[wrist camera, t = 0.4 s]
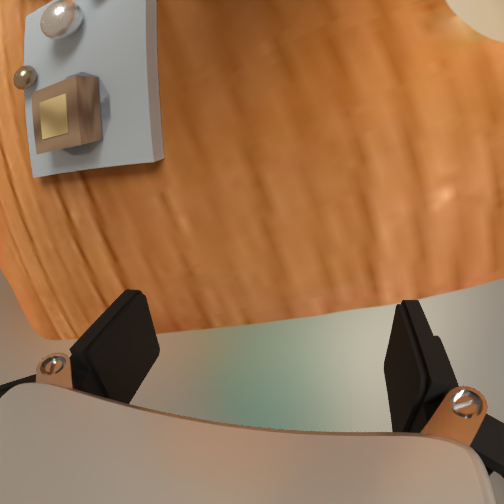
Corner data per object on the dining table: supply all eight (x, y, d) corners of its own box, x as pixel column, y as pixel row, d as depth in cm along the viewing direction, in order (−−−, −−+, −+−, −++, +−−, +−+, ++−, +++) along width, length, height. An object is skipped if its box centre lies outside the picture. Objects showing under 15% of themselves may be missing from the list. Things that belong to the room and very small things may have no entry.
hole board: (38, 18, 33) (26, 16, 30) (157, -33, 29) (147, -40, 26) (45, 173, 44) (33, 177, 42) (164, 158, 40) (153, 162, 37)
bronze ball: (26, 69, 34) (8, 70, 31) (41, 62, 34) (23, 61, 30) (26, 91, 36) (9, 93, 32) (41, 85, 35) (23, 86, 32)
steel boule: (61, 11, 30) (33, 6, 24) (92, -3, 29) (64, -12, 23) (59, 47, 32) (30, 44, 27) (91, 34, 31) (61, 28, 26)
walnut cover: (53, 91, 35) (30, 93, 31) (98, 76, 33) (75, 75, 29) (58, 148, 38) (35, 154, 34) (102, 139, 37) (80, 145, 33)
